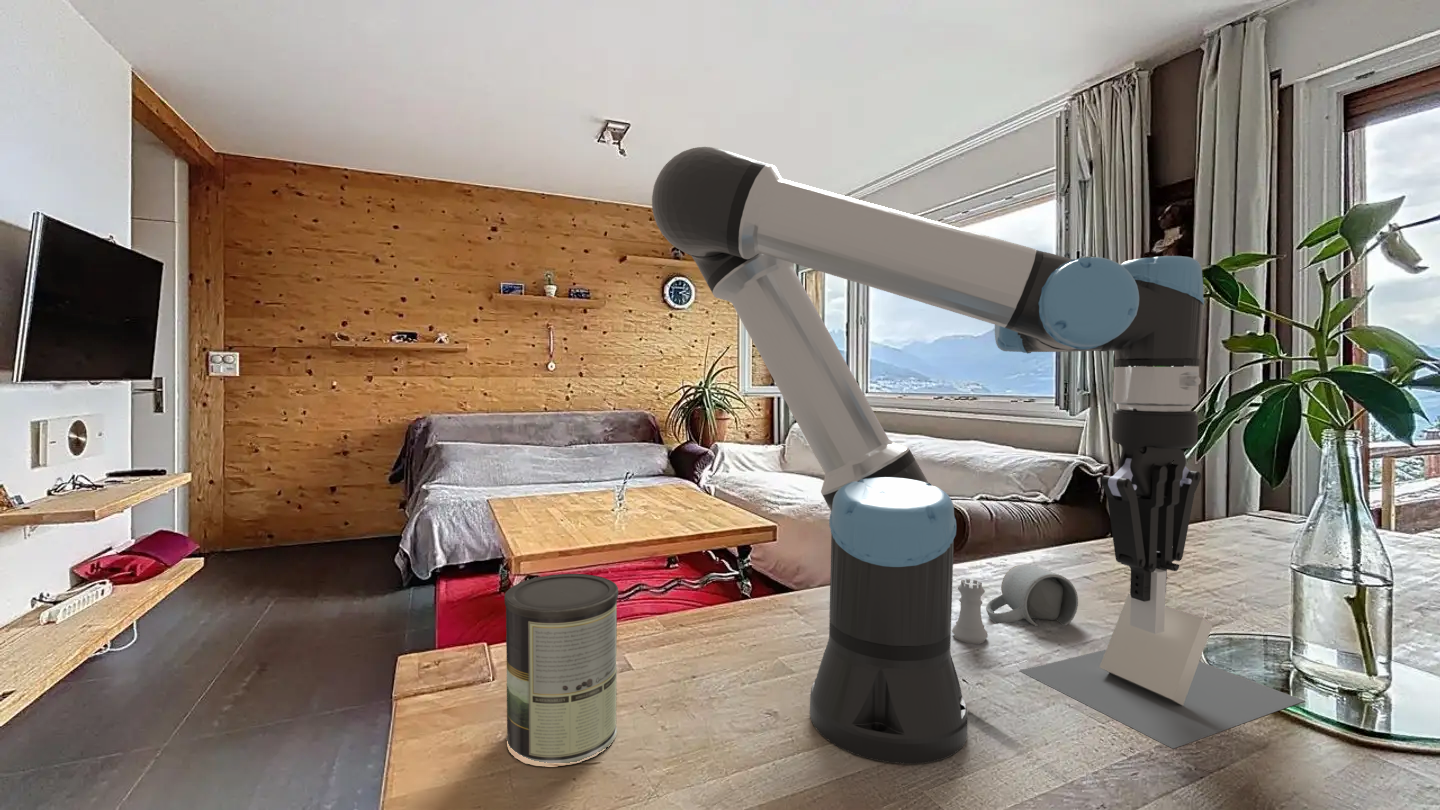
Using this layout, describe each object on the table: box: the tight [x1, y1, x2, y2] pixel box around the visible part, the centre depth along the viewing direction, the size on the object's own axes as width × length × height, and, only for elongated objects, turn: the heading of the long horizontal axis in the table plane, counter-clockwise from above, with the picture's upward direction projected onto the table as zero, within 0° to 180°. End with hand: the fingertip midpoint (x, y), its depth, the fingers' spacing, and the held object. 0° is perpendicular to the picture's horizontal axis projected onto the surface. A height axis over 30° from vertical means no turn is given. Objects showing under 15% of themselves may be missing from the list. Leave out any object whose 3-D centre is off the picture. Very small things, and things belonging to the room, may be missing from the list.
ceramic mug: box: [985, 563, 1079, 627], centre depth 94 cm, size 11×8×8 cm
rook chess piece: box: [951, 578, 989, 645], centre depth 86 cm, size 4×4×8 cm
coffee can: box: [504, 573, 619, 763], centre depth 63 cm, size 10×10×14 cm
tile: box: [1099, 593, 1214, 706], centre depth 73 cm, size 2×8×9 cm, turn 26°
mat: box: [1019, 649, 1305, 750], centre depth 73 cm, size 22×17×1 cm
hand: (1146, 628), depth 72 cm, fingers closed
